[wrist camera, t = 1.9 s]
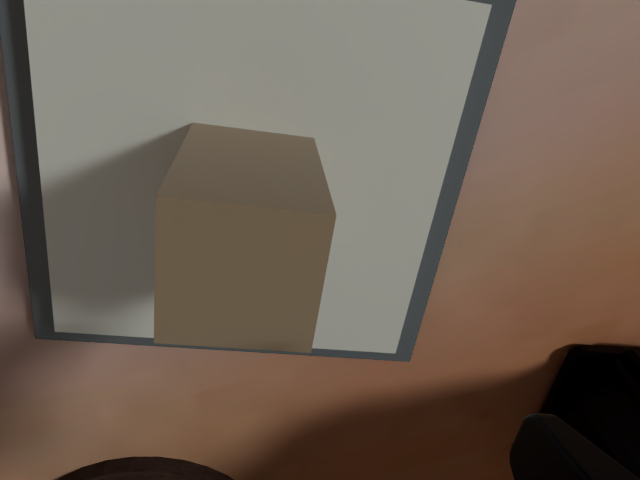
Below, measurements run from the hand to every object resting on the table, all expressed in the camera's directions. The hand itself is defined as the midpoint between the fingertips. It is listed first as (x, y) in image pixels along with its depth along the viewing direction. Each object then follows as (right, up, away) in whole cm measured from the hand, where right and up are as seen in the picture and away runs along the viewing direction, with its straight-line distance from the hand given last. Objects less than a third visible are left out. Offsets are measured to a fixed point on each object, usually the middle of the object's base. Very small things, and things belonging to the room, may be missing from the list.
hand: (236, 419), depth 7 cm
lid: (-1, +5, +9) cm, 10 cm away
